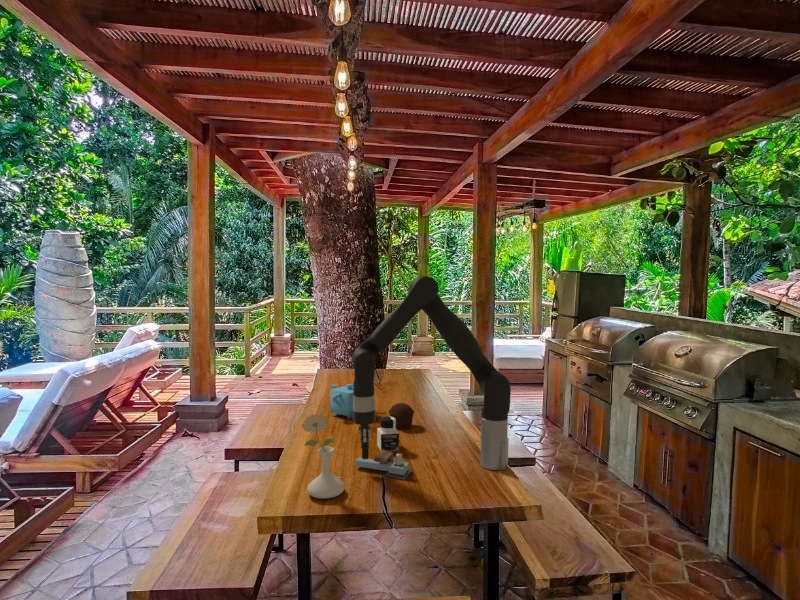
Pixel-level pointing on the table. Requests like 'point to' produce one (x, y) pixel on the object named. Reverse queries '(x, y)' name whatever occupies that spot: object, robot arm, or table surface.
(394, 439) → the medicine bottle
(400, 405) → the muffin
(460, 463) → the table surface
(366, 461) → the link
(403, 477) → the pintle block
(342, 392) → the teakettle
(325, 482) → the flower in vase
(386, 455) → the block
